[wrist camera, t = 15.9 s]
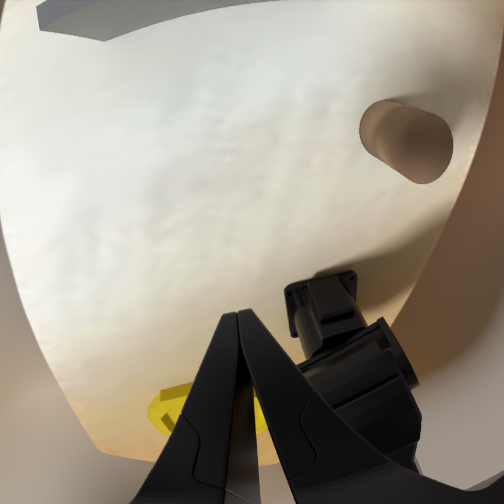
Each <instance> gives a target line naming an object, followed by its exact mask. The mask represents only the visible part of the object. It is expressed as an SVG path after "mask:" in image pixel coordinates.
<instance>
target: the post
mask: <svg viewBox="0 0 504 504" xmlns="http://www.w3.org/2000/svg"><path fill="white" fill-rule="evenodd" d="M359 133H360V138H361V142H362V144H363V146H364V147H365V149H366V150H367V151H368V152H369V153H370V154H371V155H373V156H375V157H376V158H378V159H379V160H381V161H382V162H384V163H385V164H387V165H388V166H390V167H391V168H393V169H394V170H396V171H397V172H399V173H400V174H402V175H403V176H405V177H406V178H407V179H409V180H410V181H412V182H414V183H417V184H427V183H431V182H433V181H435V180H436V179H438V178H439V177H440V176H441V175H442V174H443V173H444V172H445V170H446V169H447V167H448V165H449V163H450V161H451V158H452V153H453V137H452V133H451V130H450V128H449V126H448V125H447V123H446V122H445V121H444V120H443V119H442V118H441V117H439V116H437V115H434V114H432V113H429V112H426V111H423V110H420V109H417V108H413V107H410V106H407V105H404V104H400V103H397V102H393V101H389V100H382V101H378V102H376V103H374V104H372V105H371V106H370V107H368V109H367V110H366V111H365V112H364V114H363V116H362V119H361V122H360V128H359Z"/></svg>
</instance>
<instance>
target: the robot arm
mask: <svg viewBox="0 0 504 504" xmlns="http://www.w3.org/2000/svg"><path fill="white" fill-rule="evenodd" d="M351 276H352V277H351ZM356 289H357V274H356V273H355V272H354V271H348V272H344V273H340V274H336V275H332V276H328V277H324V278H320V279H316V280H312V281H308V282H304V283H300V284H296V285H291V286H288V287H286V288H285V289H284V296H285V303H286V309H287V316H288V323H289V330H290V335H291V337H293V338H297V337H299V339H300V342H301V345H302V348H303V351H304V355H305V358H306V361H304V362H302V363H300V364H298V365H295V363H294V362H293V361H292V360H291V358H290V357H289V356H288V355H287V353H286V352H285V351H284V350H283V348H282V347H281V346H280V344H279V343H278V342H277V341H276V339H275V338H274V337H273V336H272V334H271V333H270V332H269V330H268V329H267V328H266V327H265V325H264V324H263V323H262V321H261V320H260V319H259V318H258V316H257V315H256V314H255V312H254V311H253V310H252V309H250V308H248V309H244V310H239V311H238V312H237V313H236V312H230V313H225V314H223V315H222V316H221V318H220V321H219V323H218V325H217V328H216V330H215V332H214V335H213V337H212V339H211V342H210V344H209V346H208V349H207V351H206V353H205V356H204V358H203V360H202V363H201V365H200V367H199V370H198V372H197V375H196V377H195V379H194V382H193V384H192V386H191V389H190V391H189V393H188V396H187V398H186V400H185V403H184V405H183V407H182V410H181V413H182V414H179V417H178V419H177V421H176V424H175V426H174V428H173V430H172V433H171V435H170V437H169V439H168V441H167V443H166V445H165V447H164V448H163V450H162V452H161V454H160V456H159V458H158V459H157V461H156V463H155V464H154V466H153V468H152V469H151V471H150V473H149V474H148V476H147V478H146V479H145V481H144V483H143V485H142V486H141V488H140V490H139V491H138V493H137V494H136V496H135V497H134V498H133V500H132V501H131V502H130V503H129V504H261V499H260V486H259V472H258V471H259V470H258V455H257V439H256V424H255V408H254V392H253V386H254V389H255V392H256V395H257V398H258V401H259V404H260V407H261V410H262V413H263V415H264V418H265V421H266V424H267V427H268V430H269V432H270V435H271V438H272V441H273V444H274V446H275V449H276V452H277V455H278V457H279V460H280V463H281V466H282V468H283V471H284V474H285V476H286V479H287V481H288V484H289V487H290V489H291V492H292V495H293V497H294V500H295V502H296V504H504V471H502V472H500V473H498V474H496V475H495V476H493V477H491V478H489V479H487V480H485V481H483V482H481V483H479V484H477V485H475V486H473V487H471V488H468V489H466V490H461V489H458V488H455V487H452V486H450V485H447V484H444V483H441V482H438V481H436V480H433V479H431V478H428V477H426V476H424V475H423V473H422V470H421V468H420V466H419V463H418V461H417V459H416V456H415V452H416V448H417V443H418V441H419V439H420V432H421V420H422V415H421V412H420V410H419V408H418V406H417V404H416V402H415V399H414V397H413V395H412V393H411V390H413V389H415V388H416V387H418V386H419V382H418V379H417V377H416V375H415V373H414V371H413V368H412V366H411V364H410V362H409V360H408V358H407V357H406V355H405V353H404V351H403V349H402V347H401V346H400V344H399V342H398V341H397V339H396V337H395V336H394V334H393V333H392V331H391V329H390V327H389V326H388V324H387V323H386V321H385V319H384V318H383V316H382V317H381V318H379V319H378V320H377V321H376V322H375V323H373V324H371V325H370V326H368V325H367V323H366V321H365V319H364V317H363V315H362V313H361V311H360V310H359V308H358V306H357V304H356ZM290 291H292V292H290ZM288 292H290V293H288Z"/></svg>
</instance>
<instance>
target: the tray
mask: <svg viewBox="0 0 504 504" xmlns="http://www.w3.org/2000/svg"><path fill="white" fill-rule="evenodd" d="M265 1H276V0H47V1H45V2H43V3H41V4H40V5H38V6H36V8H37V15H38V22H39V28H40V31H48V32H55V33H62V34H68V35H74V36H79V37H85V38H90V39H95V40H99V41H104V42H105V41H107V40H110V39H112V38H115V37H117V36H120V35H123V34H125V33H128V32H131V31H134V30H137V29H139V28H142V27H146V26H149V25H152V24H155V23H158V22H162V21H165V20H169V19H172V18H176V17H180V16H184V15H188V14H192V13H197V12H201V11H206V10H211V9H216V8H222V7H227V6H234V5H240V4H248V3H256V2H265Z"/></svg>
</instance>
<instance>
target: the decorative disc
mask: <svg viewBox="0 0 504 504" xmlns="http://www.w3.org/2000/svg"><path fill="white" fill-rule="evenodd" d="M192 384H193V382H191V383H187V384H184V385H180V386H176V387H172V388H168V389H164V390H160V392H159V393H158V394H157V396H156V397H155V398H154V400H153V401H152V402H151V404H150V405H149V406H148V412H147V418H148V419H149V421H150V422H151V423H152V424H153V425H154V427H155V428H156V429H157V430H158V431H159V432H160V433H162V434H165V435H168V436H170V435H171V433H172V430H173V428H174V426H175V424H176V421H177V419H178V417H179V414H182V413H181V410H182V407H183V405H184V403H185V400H186V398H187V396H188V393H189V391H190V389H191V386H192ZM253 392H254V408H255V424H256V435H258V434H259V433H261V432H262V431H264V430H266V429H267V428H268V427H267V424H266V421H265V418H264V415H263V413H262V410H261V407H260V404H259V401H258V398H257V395H256V392H255V389H254V386H253Z"/></svg>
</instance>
